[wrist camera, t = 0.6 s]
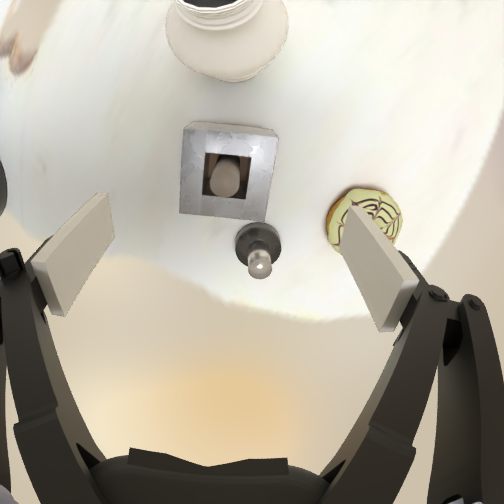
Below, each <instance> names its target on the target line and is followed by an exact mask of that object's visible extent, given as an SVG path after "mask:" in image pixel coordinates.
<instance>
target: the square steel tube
mask: <svg viewBox="0 0 504 504" xmlns="http://www.w3.org/2000/svg"><path fill="white" fill-rule="evenodd" d="M278 139H279V138H278V136H277V135H276V134H275V132H274V131H273V130H271V129H264V128H257V127H249V126H240V125H231V124H221V123H209V122H195V121H193V122H192V123H190V124H189V125H188V126H186V127H185V128H184V133H183V146H182V162H181V181H180V208H179V213H183V214H194V215H204V216H214V217H224V218H234V219H244V220H253V221H262V222H264V221H265V215H266V209H267V203H268V198H269V192H270V186H271V180H272V174H273V169H274V163H275V157H276V151H277V145H278ZM210 153H217V154H227V155H237V156H246V157H249V159H248V166H247V174H246V181H245V182H239V189H238V191H237V192H236V193H235V194H234V195H232V196H230V197H219V196H217V195H216V194H214V193H213V191H212V190H211V188H210V179H211V178H208V169H209V158H210Z"/></svg>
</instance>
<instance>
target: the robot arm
mask: <svg viewBox="0 0 504 504" xmlns="http://www.w3.org/2000/svg"><path fill="white" fill-rule="evenodd" d="M6 198H7V187H6V180H5V175H4V171H3V168H2V165H1V163H0V216H1V215H2V213H3V211H4V208H5V205H6ZM113 239H114V231H113V225H112V218H111V211H110V204H109V196H108V193H96V194H95V195H94V196H93V197H92V198H91V199H90V200H89V201H88V202H87V203H86V204H84V205H83V206H82V207H81V208H80V209H79V210H78V211H77V212H76V213H75V214H74V215H73V216H72V217H71V218H70V219H69V220H68V221H67V222H66V223H65V224H64V225H63V226H62V227H61V228H60V229H59V230H58V231H57V232H56V233H55V234H54V235H53V236H51V237H49V238H48V239H46V240H45V241H44V243H43V244H42V245H41V247H39V248H38V249H37V250H36V252H35V253H34V254H33V255H32V256H31V257H30V258H29V259H28V260H27V262H26V263H25V264H24V261H23V258H22V256H21V252H20V250H19V249H17V248H11V249H7V250H5V251H3V252H2V253H0V278H1V279H0V504H18V502H16V501H15V500H14V499H13V497H12V495H11V479H10V467H9V458H8V450H7V438H6V421H5V386H6V385H5V384H6V367H8V374H9V379H10V384H11V389H12V394H13V398H14V402H15V407H16V410H17V414H18V419H19V422H18V423H16V424H14V427H13V429H14V435H15V438H16V442H17V445H18V448H19V451H20V454H21V457H22V460H23V462H24V465H25V468H26V471H27V473H28V475H29V478H30V480H31V482H32V485H33V488H34V490H35V492H36V494H37V496H38V499H39V501H40V503H41V504H393V502H394V500H395V498H396V496H397V494H398V493H399V491H400V488H401V487H402V484H403V482H404V480H405V478H406V476H407V474H408V472H409V469H410V467H411V465H412V463H413V460H414V457H415V454H416V448H415V447H413V446H412V443H413V440H414V437H415V435H416V432H417V429H418V427H419V424H420V421H421V419H422V416H423V413H424V410H425V407H426V404H427V401H428V397H429V394H430V391H431V387H432V384H433V380H434V376H435V373H436V369H437V365H438V409H437V426H436V439H435V448H434V456H433V464H432V471H431V477H430V483H429V490H428V496H427V504H504V382H503V375H502V370H501V365H500V360H499V355H498V351H497V347H496V342H495V338H494V335H493V331H492V327H491V324H490V320H489V317H488V313H487V310H486V307H485V305H484V303H483V302H482V301H481V300H480V299H479V298H478V297H477V296H474V295H470V294H465V295H464V296H463V298H462V300H461V302H455V301H451V300H449V296H448V295H447V293H446V292H445V291H444V290H442V289H441V288H439V287H437V286H434V285H429V284H428V283H427V282H426V280H425V279H424V277H423V276H422V275H421V273H420V272H419V271H418V270H417V268H416V267H415V265H413V263H412V261H411V260H410V259H409V257H408V256H406V255H405V254H404V253H402V252H401V251H397V249H396V248H395V247H394V245H393V244H392V243H391V242H390V240H389V239H388V238H387V236H386V235H385V234H384V233H383V232H382V230H381V229H380V228H379V227H378V225H377V224H376V223H375V222H374V220H373V219H372V218H371V217H370V216H369V215H368V213H367V212H366V211H365V210H364V209H363V207H361V206H352V205H349V209H348V213H347V217H346V222H345V226H344V230H343V234H342V238H341V241H340V245H339V250H340V252H341V254H342V256H343V258H344V260H345V261H346V263H347V265H348V267H349V269H350V271H351V273H352V275H353V277H354V280H355V282H356V284H357V286H358V288H359V290H360V292H361V294H362V296H363V298H364V300H365V302H366V305H367V307H368V309H369V311H370V313H371V315H372V318H373V320H374V322H375V324H376V327H377V329H378V331H379V332H392V331H394V330H395V328H396V326H397V325H398V323H399V321H400V323H401V325H402V327H403V329H402V330H401V332H400V334H399V335H398V337H397V339H396V341H395V342H394V344H393V346H394V348H393V350H392V353H391V355H390V357H389V359H388V361H387V364H386V366H385V368H384V370H383V372H382V374H381V376H380V379H379V380H378V382H377V384H376V386H375V388H374V390H373V392H372V394H371V396H370V398H369V400H368V401H367V403H366V405H365V407H364V409H363V411H362V413H361V414H360V416H359V418H358V419H357V421H356V423H355V425H354V426H353V428H352V430H351V431H350V433H349V435H348V436H347V438H346V439H345V441H344V443H343V444H342V446H341V447H340V449H339V450H338V452H337V453H336V455H335V456H334V458H333V459H332V460H331V461H330V463H329V464H328V465H327V466H326V467H325V469H324V470H323V471H322V472H321V474H320V475H319V476H318V475H316V474H314V473H312V472H310V471H308V470H305V469H302V468H299V467H295V466H290V465H288V460H287V458H273V459H272V458H271V459H246V460H242V461H237V462H232V463H227V464H222V465H216V466H210V467H206V466H201V465H198V464H195V463H192V462H189V461H186V460H183V459H180V458H177V457H174V456H172V455H169V454H166V453H159V452H152V451H146V450H141V449H135V448H130V449H129V455H125V456H118V457H114V458H110V459H106V458H105V456H104V455H103V453H102V452H101V451H100V450H99V448H98V447H97V445H96V444H95V442H94V440H93V439H92V436H91V434H90V433H89V430H88V428H87V426H86V424H85V422H84V420H83V418H82V416H81V414H80V412H79V409H78V407H77V405H76V403H75V400H74V398H73V395H72V393H71V391H70V388H69V386H68V383H67V380H66V378H65V375H64V372H63V370H62V367H61V364H60V361H59V358H58V355H57V352H56V349H55V346H54V342H53V339H52V336H51V332H50V329H49V325H48V321H47V317H46V315H45V313H44V308H45V307H46V305H48V307H49V309H50V312H51V314H52V315H58V316H63V317H65V316H66V315H67V313H68V311H69V309H70V307H71V305H72V304H73V302H74V300H75V299H76V297H77V295H78V293H79V292H80V290H81V288H82V287H83V285H84V284H85V282H86V280H87V279H88V277H89V275H90V274H91V272H92V271H93V269H94V267H95V266H96V264H97V263H98V261H99V260H100V258H101V257H102V255H103V254H104V252H105V251H106V249H107V248H108V246H109V245H110V243H111V242H112V240H113Z"/></svg>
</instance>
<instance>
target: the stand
mask: <svg viewBox="0 0 504 504" xmlns="http://www.w3.org/2000/svg"><path fill="white" fill-rule="evenodd" d="M248 159H249V157H246V156H237V155H227V154H217V153H210V158H209V169H208V178H211V179H210V188H211V190H212V191H213V193H214V194H216V195H217V196H219V197H230V196H232V195H234V194H235V193H236V192H237V191H238V189H239V182H245V181H246V174H247V166H248Z"/></svg>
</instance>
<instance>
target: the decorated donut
mask: <svg viewBox="0 0 504 504" xmlns="http://www.w3.org/2000/svg"><path fill="white" fill-rule="evenodd" d="M349 205H352V206H361V207H363V209H364V210H365V211H366V212H367V213H368V215H369V216H370V217H371V218H372V219H373V220H374V222H375V223H376V224H377V225H378V227H379V228H380V229H381V230H382V232H383V233H384V234H385V235H386V236H387V238H388V239H389V240H390V242H391V243H392V244H393V245H394V243H395V241H396V239H397V237H398V234H399V232H400V230H401V227H402V221H403V220H402V215H401V211H400V209H399V207H398V205H397V204H396V203H395V202H394V201H393V199H392V197H390V196H389V195H388V194H387V193H384V192H381V191H378V190H372V189H366V190H365V189H361V188H360V189H353V190H351V191H349V192H348V193H347V195H345V196H343V197H342V198H341V199H340V200H338V201H337V202H336V204H335V205H334V206H333V207H332V209H331V210H330V212H329V214H328V216H327V232H328V241H329V243H330V244H331V245H332V246H333V248H334V249H335V250H336V251H337V252H338V253H340V254H341V252H340V250H339V245H340V241H341V238H342V234H343V230H344V226H345V222H346V217H347V213H348V209H349ZM341 255H342V254H341Z"/></svg>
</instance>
